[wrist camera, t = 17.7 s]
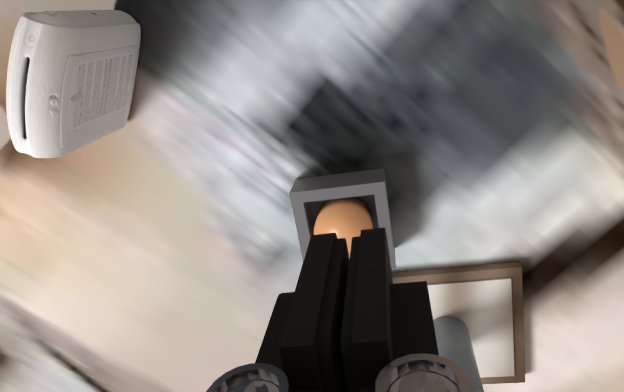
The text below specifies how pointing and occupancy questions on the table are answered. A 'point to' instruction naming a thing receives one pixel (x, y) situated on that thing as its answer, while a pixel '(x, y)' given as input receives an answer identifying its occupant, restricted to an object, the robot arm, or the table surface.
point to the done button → (344, 218)
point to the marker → (457, 347)
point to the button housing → (353, 184)
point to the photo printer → (70, 79)
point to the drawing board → (482, 312)
